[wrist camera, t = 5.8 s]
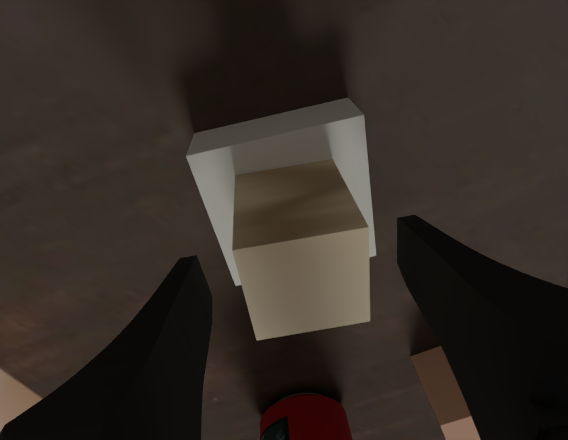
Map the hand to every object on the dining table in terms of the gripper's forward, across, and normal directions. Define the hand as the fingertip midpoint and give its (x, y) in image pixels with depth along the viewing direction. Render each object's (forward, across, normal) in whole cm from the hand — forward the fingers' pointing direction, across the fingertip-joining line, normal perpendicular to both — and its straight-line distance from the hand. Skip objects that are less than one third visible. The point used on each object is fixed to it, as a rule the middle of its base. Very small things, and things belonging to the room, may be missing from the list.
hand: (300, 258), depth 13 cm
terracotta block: (+6, -9, +17) cm, 20 cm away
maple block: (+3, 0, 0) cm, 3 cm away
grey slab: (+6, 0, 0) cm, 6 cm away
